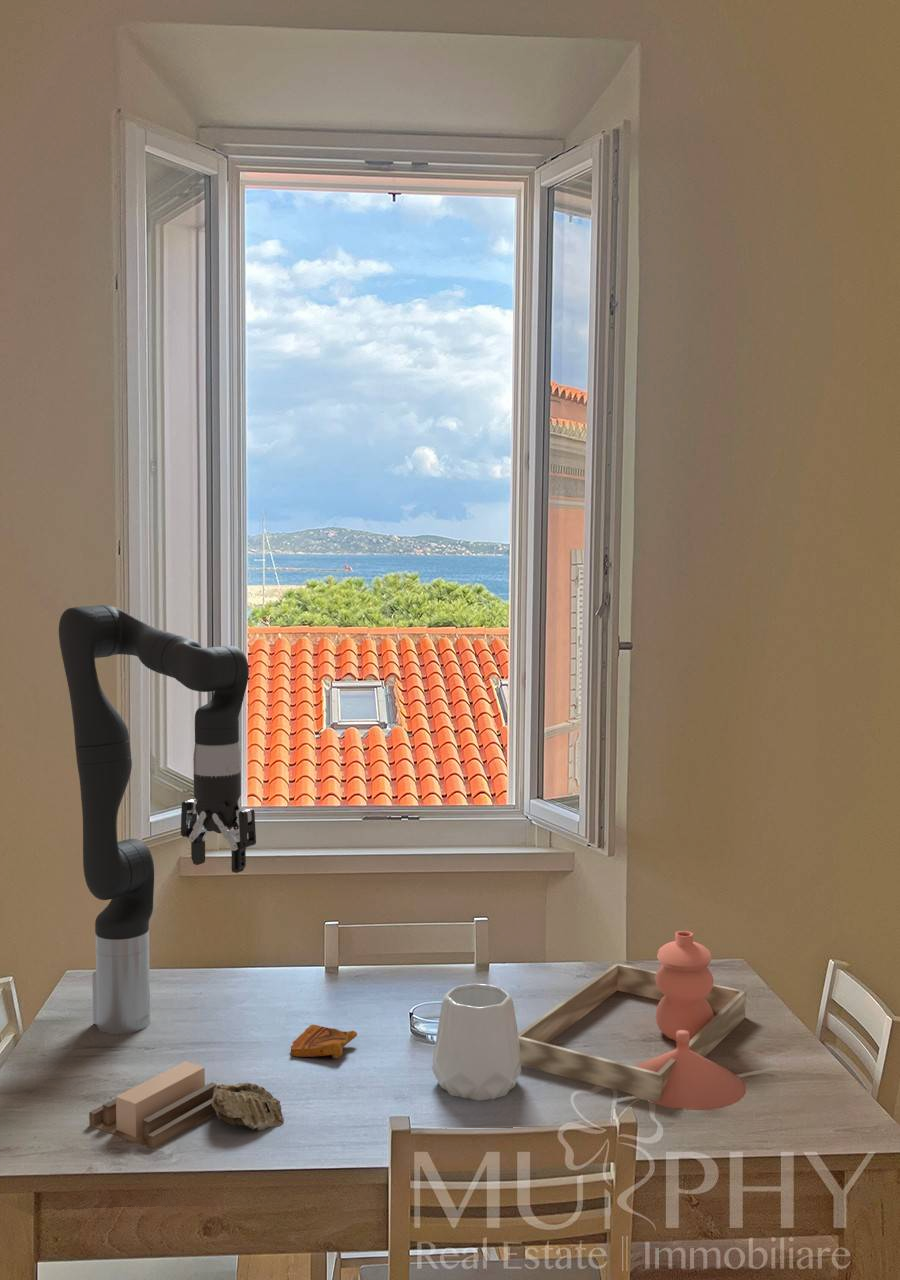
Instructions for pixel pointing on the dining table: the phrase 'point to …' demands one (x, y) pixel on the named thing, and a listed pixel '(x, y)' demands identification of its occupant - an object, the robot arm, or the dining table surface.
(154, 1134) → the tray
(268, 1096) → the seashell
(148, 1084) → the peach rectangular block
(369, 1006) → the dining table surface
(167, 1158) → the dining table surface
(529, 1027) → the vessel tray frame
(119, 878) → the robot arm
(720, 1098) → the ceramic vessels
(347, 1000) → the dining table surface
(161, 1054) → the dining table surface
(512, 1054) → the vase
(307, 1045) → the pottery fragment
